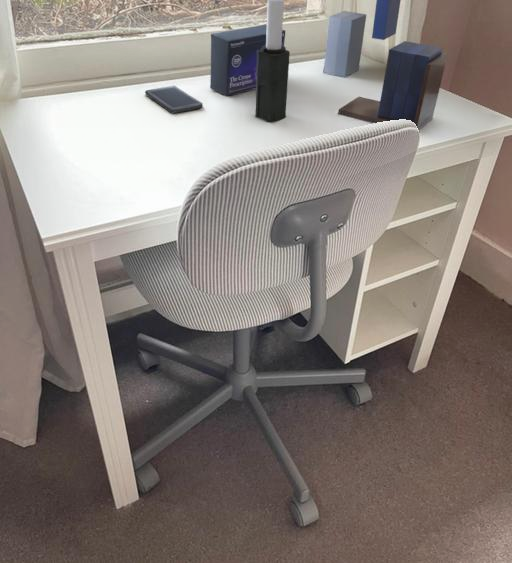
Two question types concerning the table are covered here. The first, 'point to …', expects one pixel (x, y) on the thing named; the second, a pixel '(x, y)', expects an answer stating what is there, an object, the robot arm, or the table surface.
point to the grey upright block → (344, 43)
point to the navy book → (385, 18)
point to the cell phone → (173, 99)
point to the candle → (272, 68)
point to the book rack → (404, 86)
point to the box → (236, 58)
